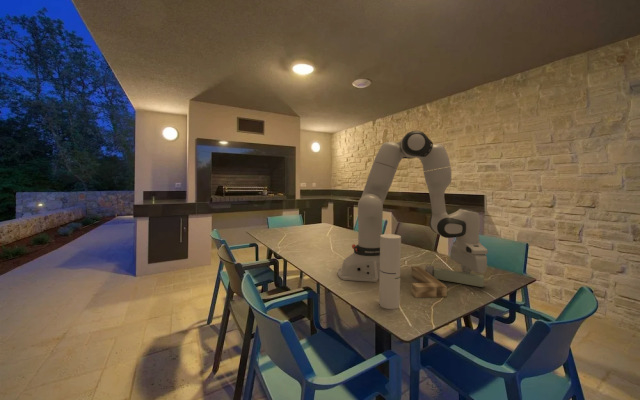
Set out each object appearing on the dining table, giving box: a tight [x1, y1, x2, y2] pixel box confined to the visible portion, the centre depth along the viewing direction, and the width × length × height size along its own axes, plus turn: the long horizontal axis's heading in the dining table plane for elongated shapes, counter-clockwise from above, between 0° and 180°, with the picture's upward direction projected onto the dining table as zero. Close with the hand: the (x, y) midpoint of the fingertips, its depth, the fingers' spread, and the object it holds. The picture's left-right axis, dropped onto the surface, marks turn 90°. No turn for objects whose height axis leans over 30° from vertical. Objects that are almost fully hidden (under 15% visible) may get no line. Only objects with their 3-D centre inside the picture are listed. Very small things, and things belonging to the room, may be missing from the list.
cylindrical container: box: [378, 233, 402, 310], centre depth 91 cm, size 7×7×25 cm
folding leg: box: [425, 264, 485, 288], centre depth 113 cm, size 23×4×5 cm, turn 59°
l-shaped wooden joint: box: [410, 265, 448, 298], centre depth 109 cm, size 13×24×4 cm, turn 3°
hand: (466, 275), depth 113 cm, fingers closed
